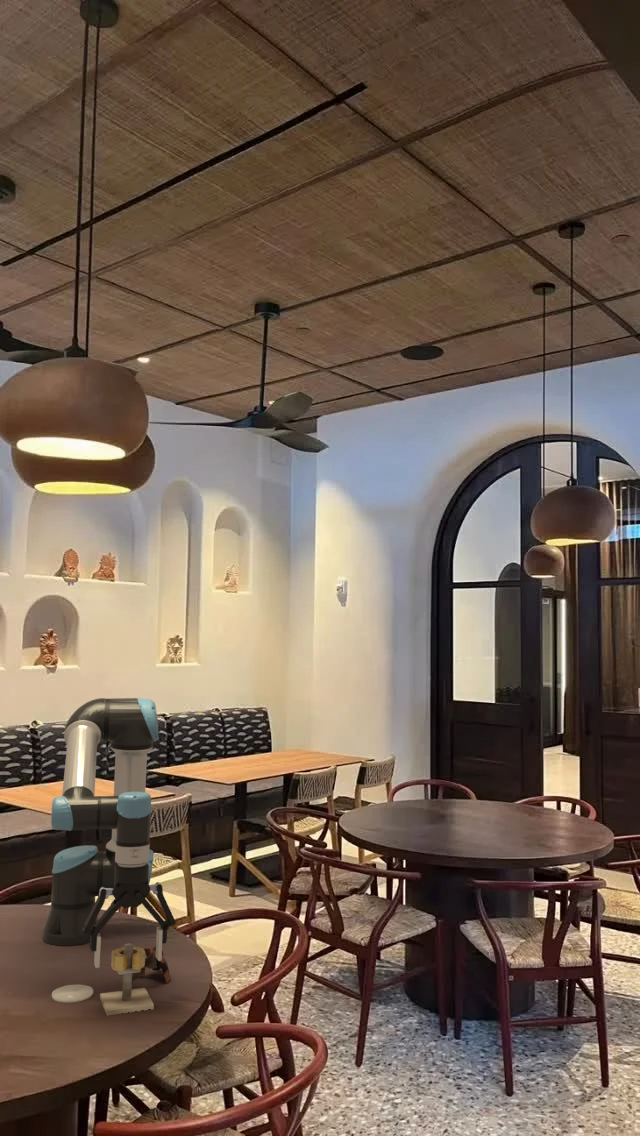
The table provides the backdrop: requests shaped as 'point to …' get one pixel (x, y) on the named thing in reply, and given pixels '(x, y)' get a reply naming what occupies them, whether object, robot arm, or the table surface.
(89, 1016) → the table surface
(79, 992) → the coaster
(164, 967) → the brown black curved arch
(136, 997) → the peg stand
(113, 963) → the c link
